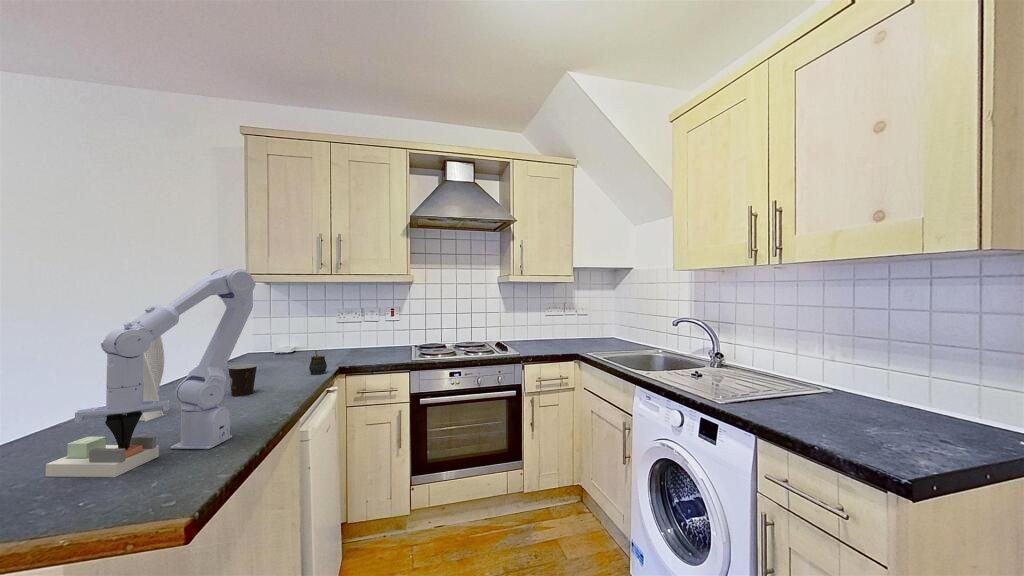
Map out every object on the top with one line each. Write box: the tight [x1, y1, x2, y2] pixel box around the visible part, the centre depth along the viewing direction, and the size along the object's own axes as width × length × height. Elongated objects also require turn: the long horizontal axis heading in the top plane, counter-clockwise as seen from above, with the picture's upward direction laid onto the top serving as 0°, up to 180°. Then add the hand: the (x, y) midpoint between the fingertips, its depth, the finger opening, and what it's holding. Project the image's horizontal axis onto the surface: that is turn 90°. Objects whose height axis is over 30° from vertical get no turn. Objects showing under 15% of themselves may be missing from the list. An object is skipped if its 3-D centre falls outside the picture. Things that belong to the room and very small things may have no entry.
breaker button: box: [115, 445, 142, 459], centre depth 86 cm, size 4×4×3 cm
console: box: [45, 435, 160, 478], centre depth 86 cm, size 14×10×5 cm
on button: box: [66, 436, 107, 459], centre depth 86 cm, size 4×4×3 cm
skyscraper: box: [138, 335, 169, 423], centre depth 118 cm, size 8×8×28 cm
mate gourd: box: [308, 350, 328, 376], centre depth 182 cm, size 7×8×10 cm
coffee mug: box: [228, 364, 258, 397], centre depth 144 cm, size 12×9×10 cm
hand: (124, 448), depth 86 cm, fingers closed, pressing on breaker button
